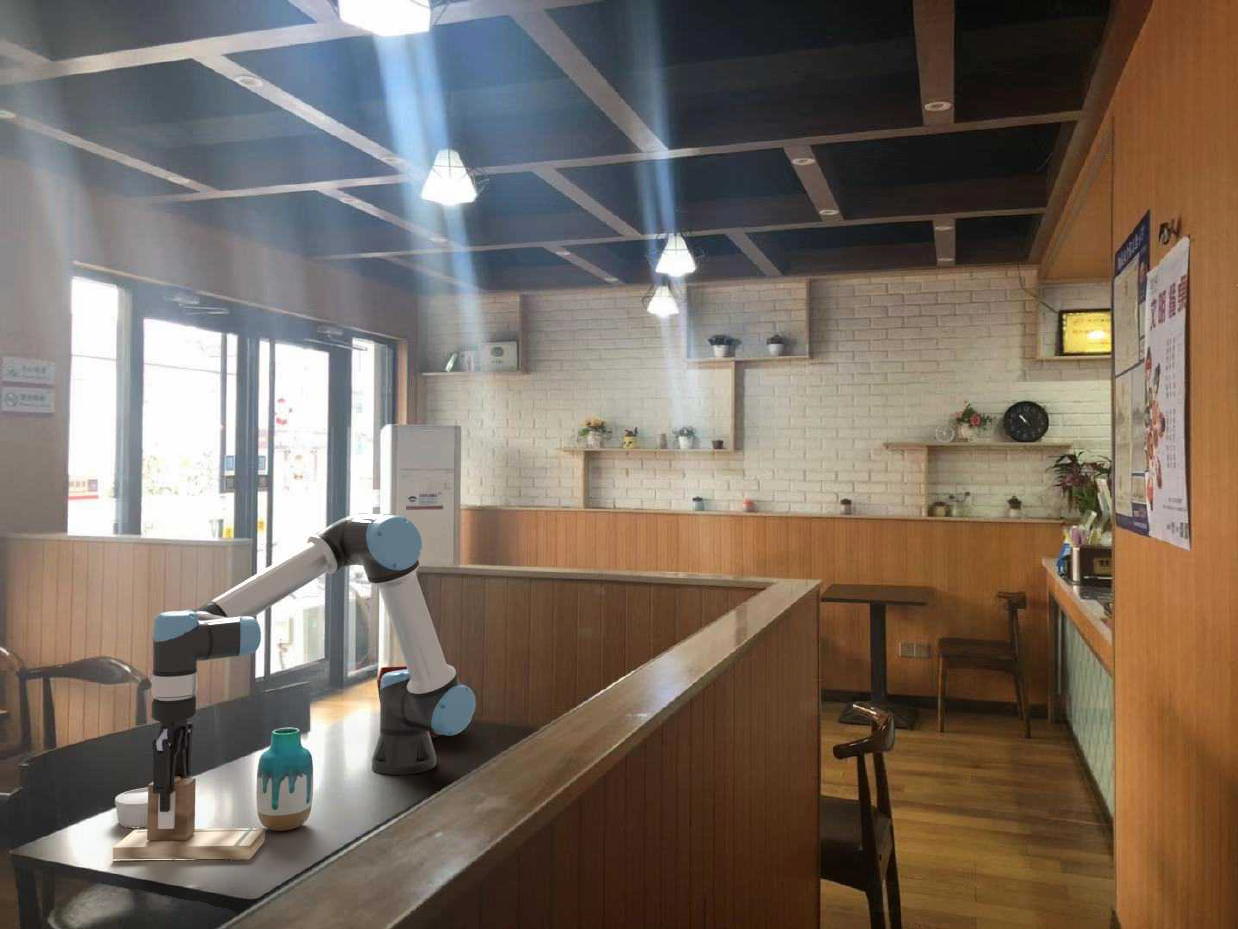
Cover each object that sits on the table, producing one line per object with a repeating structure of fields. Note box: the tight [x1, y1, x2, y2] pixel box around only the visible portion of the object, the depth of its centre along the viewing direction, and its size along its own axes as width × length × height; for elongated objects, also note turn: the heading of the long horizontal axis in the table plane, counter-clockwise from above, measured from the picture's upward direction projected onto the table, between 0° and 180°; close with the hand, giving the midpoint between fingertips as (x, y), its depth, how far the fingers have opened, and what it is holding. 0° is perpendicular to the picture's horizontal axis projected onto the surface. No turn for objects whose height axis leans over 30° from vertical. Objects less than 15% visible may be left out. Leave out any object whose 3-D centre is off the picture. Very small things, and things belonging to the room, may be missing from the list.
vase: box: [255, 727, 314, 832], centre depth 192 cm, size 11×11×19 cm
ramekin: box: [114, 787, 148, 829], centre depth 196 cm, size 11×11×5 cm
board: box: [112, 827, 266, 861], centre depth 180 cm, size 24×9×3 cm, turn 94°
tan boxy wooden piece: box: [146, 776, 197, 840], centre depth 182 cm, size 7×8×11 cm
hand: (171, 823), depth 180 cm, fingers closed on tan boxy wooden piece, 4 cm apart
